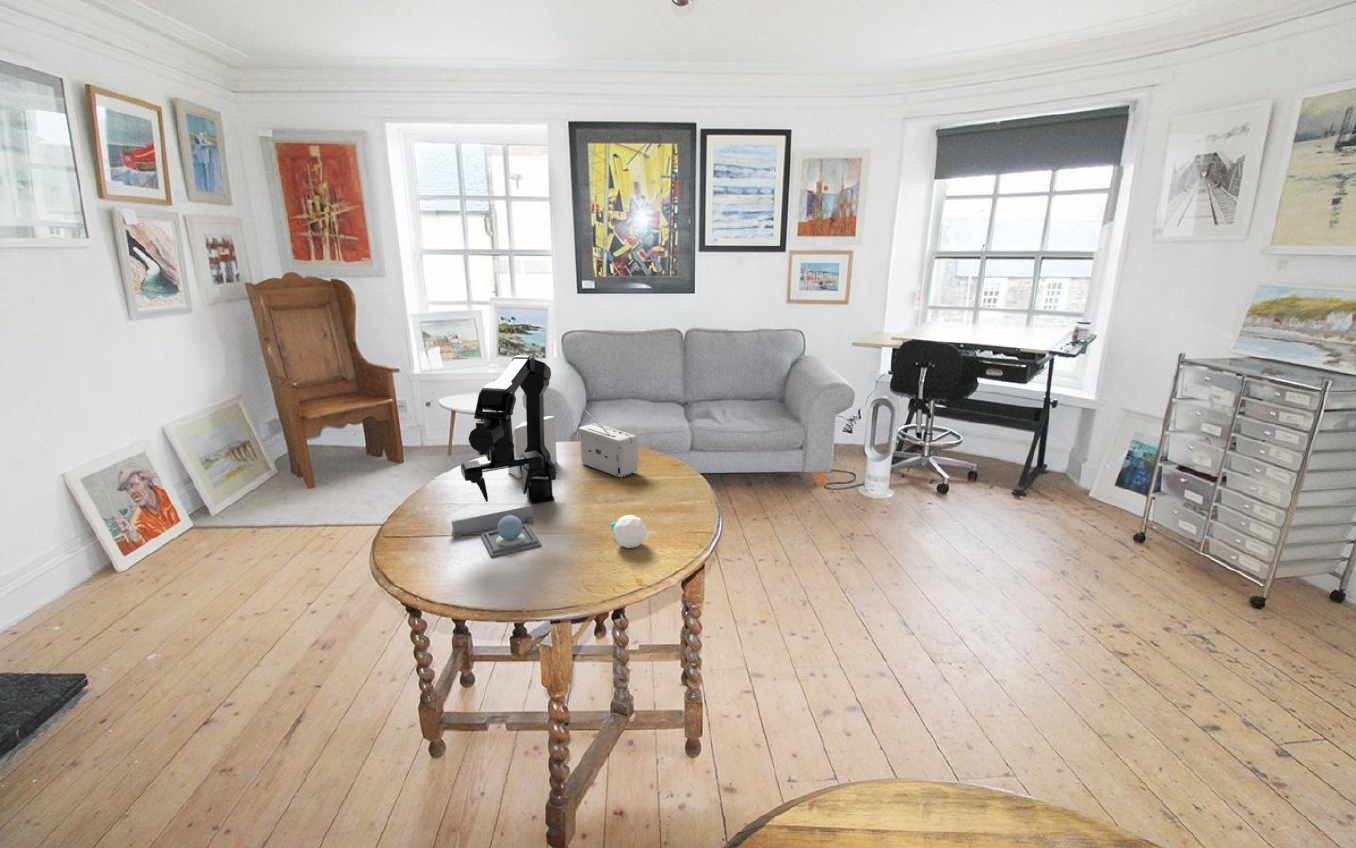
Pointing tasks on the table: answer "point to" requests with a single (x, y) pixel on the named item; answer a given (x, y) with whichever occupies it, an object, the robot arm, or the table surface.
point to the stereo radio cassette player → (608, 449)
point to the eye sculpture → (521, 442)
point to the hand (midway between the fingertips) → (505, 497)
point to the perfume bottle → (629, 531)
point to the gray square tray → (510, 542)
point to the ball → (509, 527)
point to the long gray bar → (489, 520)
